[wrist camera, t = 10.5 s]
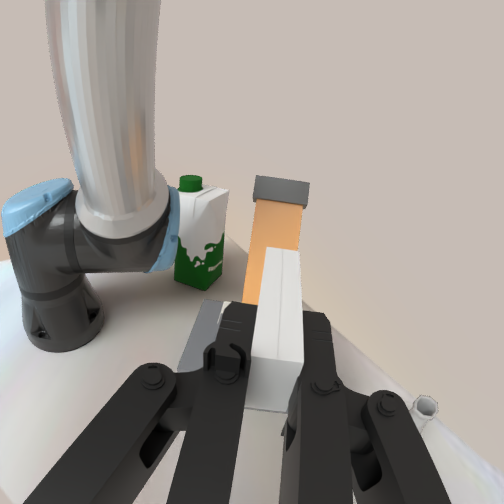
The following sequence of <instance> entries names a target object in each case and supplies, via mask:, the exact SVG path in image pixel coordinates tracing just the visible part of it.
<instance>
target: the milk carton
mask: <svg viewBox="0 0 504 504" xmlns="http://www.w3.org/2000/svg"><path fill="white" fill-rule="evenodd" d="M179 185H180V187H179V188H178V189H177V190H178V192H179V196H180V226H179V234H178V247H177V253H176V258H175V266H174V280H176V281H178V282H181V283H184V284H187V285H189V286H192V287H195V288H198V289H201V290H204V291H205V290H206V289H207V288H208V287H209V286H210V285H211V284H212V283H213V282H214V281H215V280H216V279H217V278H218V277H219V276H220V275H221V274H222V263H223V248H224V234H225V219H226V209H227V203H228V196H229V190H225V189H220V188H217V187H215V186H208V185H203V184H202V177H200V176H196V175H186V176H181V177H180V184H179Z"/></svg>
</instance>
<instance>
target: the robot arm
mask: <svg viewBox="0 0 504 504" xmlns="http://www.w3.org/2000/svg"><path fill="white" fill-rule="evenodd" d="M160 5H161V0H45V12H46V25H47V34H48V44H49V52H50V59H51V66H52V72H53V78H54V83H55V89H56V94H57V99H58V104H59V108H60V113H61V117H62V122H63V126H64V130H65V134H66V138H67V142H68V145H69V149H70V153H71V156H72V159H73V163H74V166H75V170H76V173H77V177H78V180H79V183H80V188H79V190H73V188H74V185H73V184H72V182H71V180H69V179H67V178H66V179H64V178H59V179H53V180H49V181H46V182H42V183H39V184H36V185H33V186H31V187H29V188H27V189H24V190H22V191H20V192H19V193H17V194H15V195H14V196H12V197H11V198H10V199H9V200H7V201H6V203H5V204H4V206H3V208H2V212H1V216H2V224H3V231H4V233H3V235H4V237H5V239H6V243H7V248H8V251H9V255H10V259H11V262H12V266H13V269H14V273H15V276H16V279H17V282H18V285H19V288H20V291H21V295H22V318H23V326H24V329H25V331H26V334H27V336H28V338H29V340H30V341H31V342H32V344H34V345H35V346H36V347H38V348H40V349H42V350H45V351H49V352H65V351H69V350H73V349H76V348H78V347H80V346H82V345H84V344H86V343H87V342H89V341H90V340H91V339H92V338H94V337H95V336H96V334H97V333H98V332H99V330H100V329H101V327H102V325H103V321H104V312H103V308H102V304H101V301H100V298H99V297H98V295H97V294H96V292H95V290H94V289H93V287H92V286H91V284H90V282H89V281H88V279H87V277H86V276H85V273H116V272H144V273H150V272H153V271H164V270H167V269H169V268H170V267H171V266H172V265H173V263H174V261H175V258H176V253H177V247H178V234H179V226H180V196H179V192H178V190H177V189H176V188H174V187H170V186H169V185H167V182H166V180H165V178H164V177H163V175H162V174H161V173H160V172H159V171H158V170H157V169H156V168H155V149H154V147H155V145H154V101H155V70H156V51H157V50H156V49H157V36H158V25H159V14H160ZM299 254H300V253H299V251H294V250H287V249H280V248H273V247H267V248H266V255H265V261H264V268H263V275H262V282H261V289H260V295H259V302H258V305H254V304H247V303H240V302H234V301H232V302H231V303H230V304H229V305H228V306H227V307H226V308H225V309H224V312H223V315H222V319H221V322H220V325H219V329H218V332H217V336H216V339H215V341H214V342H212V343H211V344H209V345H208V346H207V347H206V348H205V350H204V352H203V367H202V368H200V369H198V370H195V371H191V372H180V373H173V371H172V370H171V369H170V368H169V367H167V366H166V365H164V364H160V363H147V364H144V365H141V366H139V367H138V368H137V369H136V370H134V372H133V373H132V374H131V375H130V376H129V377H128V379H127V380H126V381H125V382H124V383H123V384H122V386H121V387H120V388H119V389H118V390H117V392H116V393H115V394H114V395H113V396H112V397H111V399H110V400H109V401H108V402H107V403H106V404H105V406H104V407H103V408H102V409H101V410H100V411H99V413H98V414H97V415H96V416H95V417H94V419H93V420H92V421H91V422H90V423H89V425H88V426H87V427H86V428H85V429H84V430H83V432H82V433H81V434H80V435H79V436H78V438H77V439H76V440H75V441H74V442H73V444H72V445H71V446H70V447H69V448H68V449H67V451H66V452H65V453H64V454H63V455H62V457H61V458H60V459H59V460H58V461H57V463H56V464H55V465H54V466H53V467H52V469H51V470H50V471H49V472H48V474H47V475H46V476H45V477H44V478H43V480H42V481H41V482H40V483H39V484H38V486H37V487H36V488H35V489H34V491H33V492H32V493H31V494H30V495H29V497H28V498H27V499H26V500H25V501H24V503H23V504H132V503H133V502H134V500H135V499H136V497H137V496H138V494H139V493H140V491H141V490H142V488H143V487H144V485H145V484H146V482H147V481H148V479H149V478H150V476H151V475H152V473H153V472H154V470H155V469H156V467H157V466H158V464H159V463H160V461H161V460H162V458H163V456H164V455H165V453H166V452H167V450H168V449H169V447H170V446H171V444H172V443H173V441H174V439H175V438H176V436H177V435H178V433H179V432H180V431H186V433H185V437H184V441H183V444H182V448H181V451H180V455H179V459H178V462H177V466H176V469H175V473H174V477H173V480H172V484H171V488H170V492H169V495H168V499H167V503H166V504H229V499H230V493H231V487H232V481H233V475H234V469H235V463H236V457H237V450H238V444H239V438H240V431H241V425H242V418H243V412H244V407H249V408H256V409H264V410H272V411H282V412H286V410H287V408H288V418H287V420H286V422H285V425H284V427H283V430H282V432H281V436H284V444H283V459H282V472H281V485H280V496H279V504H353V492H354V495H355V498H356V501H357V504H451V502H450V499H449V497H448V494H447V492H446V490H445V487H444V485H443V483H442V480H441V478H440V476H439V474H438V471H437V469H436V467H435V465H434V463H433V460H432V458H431V456H430V454H429V452H428V450H427V447H426V445H425V443H424V441H423V439H422V437H421V435H420V433H419V431H418V429H417V427H416V425H415V423H414V421H413V418H412V416H411V414H410V412H409V410H408V409H407V407H406V405H405V403H404V401H403V400H402V399H401V397H400V396H398V395H397V394H396V393H394V392H391V391H388V390H379V391H377V392H374V393H373V394H372V395H371V396H370V397H369V396H366V395H363V394H360V393H357V392H354V391H352V390H350V389H348V388H347V387H345V386H344V385H343V383H342V381H341V380H340V378H339V377H338V376H337V373H336V365H335V357H334V348H333V343H332V334H331V326H330V322H329V320H328V319H327V317H326V316H325V314H324V313H320V312H311V311H303V310H302V290H301V271H300V255H299ZM352 489H353V491H352Z"/></svg>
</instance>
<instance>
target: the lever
mask: <svg viewBox="0 0 504 504" xmlns="http://www.w3.org/2000/svg"><path fill="white" fill-rule="evenodd" d="M309 184H310V183H307V182H302V181H295V180H288V179H281V178H274V177H266V176H258V175H256V179H255V186H254V192H253V202H256V207H255V214H254V222H253V228H252V236H251V242H250V249H249V256H248V263H247V270H246V277H245V284H244V291H243V298H242V303H247V304H254V305H258V302H259V295H260V289H261V282H262V275H263V268H264V261H265V255H266V248H267V247H273V248H280V249H287V250H294V251H297V249H298V243H299V234H300V226H301V218H302V210H303V209H305V208H306V206H307V203H308V194H309Z"/></svg>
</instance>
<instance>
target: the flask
mask: <svg viewBox="0 0 504 504" xmlns="http://www.w3.org/2000/svg"><path fill="white" fill-rule="evenodd" d="M409 412H410V414H411V416H412V418H413V421H414V423H415V425H416V427H417V429H418V431H419V433H420V434H421V431H422V429H423V427H424V426H425V424H426V422H427V421H428V420H432V419H433V418H434V416H435V415H436V414H437V413H438V403H437V402H436V401H435V400H434V399H432V398H431V397H430V396H424V395H420V396H419V397H418V398H417V399H416V400H415V401H414V403H413V408H412V409H411V410H410V411H409Z"/></svg>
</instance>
